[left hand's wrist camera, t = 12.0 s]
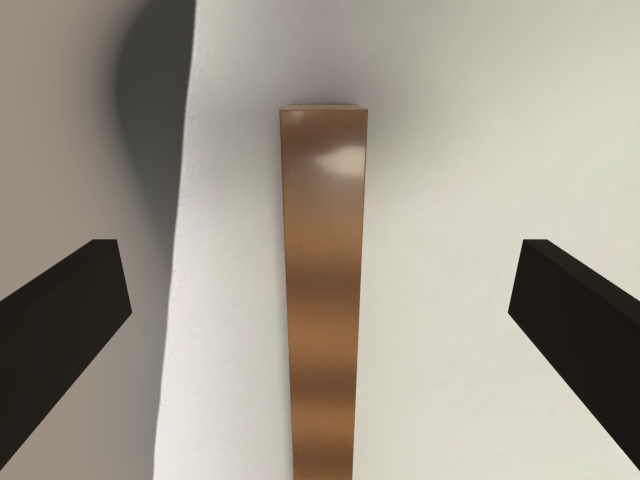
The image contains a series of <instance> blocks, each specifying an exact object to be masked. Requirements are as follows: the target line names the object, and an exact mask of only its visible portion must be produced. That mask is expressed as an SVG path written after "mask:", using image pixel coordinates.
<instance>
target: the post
mask: <svg viewBox="0 0 640 480" xmlns="http://www.w3.org/2000/svg"><path fill="white" fill-rule="evenodd" d="M367 118H368V110H367V109H365V108H363V107H360V106H358V105H356V104H290V105H288V106H286V107H284V108H282V109H281V110H280V134H281V160H282V186H283V212H284V238H285V264H286V290H287V316H288V342H289V368H290V394H291V420H292V446H293V471H294V480H352V471H353V447H354V424H355V400H356V377H357V353H358V330H359V306H360V283H361V259H362V236H363V212H364V188H365V165H366V141H367Z"/></svg>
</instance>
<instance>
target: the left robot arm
mask: <svg viewBox="0 0 640 480" xmlns="http://www.w3.org/2000/svg"><path fill="white" fill-rule="evenodd" d="M131 314H132V309H131V305H130V300H129V295H128V291H127V286H126V281H125V276H124V272H123V267H122V262H121V258H120V253H119V248H118V243H117V240H116V239H93V240H91V241H90V242H88V243H87V244H85V245H84V246H83V247H81V248H79V249H78V250H76V251H75V252H73V253H72V254H70V255H69V256H67V257H66V258H64V259H63V260H62V261H60V262H58V263H57V264H55V265H54V266H52V267H51V268H49V269H48V270H46V271H45V272H43V273H42V274H40V275H39V276H37V277H36V278H34V279H33V280H31V281H30V282H28V283H27V284H26V285H24V286H23V287H21V288H19V289H18V290H16V291H15V292H13V293H12V294H10V295H9V296H7V297H6V298H4V299H3V300H1V301H0V471H1V469H2V468H3V467H4V466H5V465H6V463H7V462H8V461H9V460H10V459H11V457H12V456H13V455H14V454H15V453H16V451H17V450H18V449H19V448H20V447H21V445H22V444H23V443H24V442H25V441H26V439H27V438H28V437H29V436H30V435H31V433H32V432H33V431H34V430H35V429H36V427H37V426H38V425H39V424H40V423H41V421H42V420H43V419H44V418H45V417H46V415H47V414H48V413H49V412H50V411H51V409H52V408H53V407H54V406H55V405H56V403H57V402H58V401H59V400H60V399H61V397H62V396H63V395H64V394H65V393H66V391H67V390H68V389H69V388H70V387H71V385H72V384H73V383H74V382H75V381H76V379H77V378H78V377H79V376H80V375H81V374H82V372H83V371H84V370H85V369H86V368H87V366H88V365H89V364H90V363H91V362H92V360H93V359H94V358H95V357H96V356H97V354H98V353H99V352H100V351H101V350H102V348H103V347H104V346H105V345H106V344H107V342H108V341H109V340H110V339H111V338H112V336H113V335H114V334H115V333H116V331H117V330H118V329H119V328H120V327H121V326H122V324H123V323H124V322H125V321H126V320H127V318H128V317H129V316H130V315H131ZM508 314H509V315H510V316H511V317H512V318H513V320H514V321H515V322H516V323H517V324H518V326H519V327H520V328H521V329H522V330H523V332H524V333H525V334H526V335H527V336H528V338H529V339H530V340H531V341H532V342H533V344H534V345H535V346H536V347H537V348H538V350H539V351H540V352H541V353H542V354H543V356H544V357H545V358H546V359H547V360H548V362H549V363H550V364H551V365H552V366H553V368H554V369H555V370H556V371H557V372H558V374H559V375H560V376H561V377H562V378H563V379H564V381H565V382H566V383H567V384H568V385H569V387H570V388H571V389H572V390H573V391H574V393H575V394H576V395H577V396H578V397H579V399H580V400H581V401H582V402H583V403H584V405H585V406H586V407H587V408H588V409H589V411H590V412H591V413H592V414H593V415H594V417H595V418H596V419H597V420H598V421H599V423H600V424H601V425H602V426H603V427H604V429H605V430H606V431H607V432H608V433H609V435H610V436H611V437H612V438H613V439H614V441H615V442H616V443H617V444H618V445H619V447H620V448H621V449H622V450H623V451H624V453H625V454H626V455H627V456H628V457H629V459H630V460H631V461H632V462H633V463H634V465H635V466H636V467H637V468H638V469H639V471H640V301H639V300H637V299H636V298H634V297H633V296H631V295H630V294H628V293H627V292H625V291H624V290H622V289H621V288H619V287H618V286H616V285H615V284H613V283H612V282H610V281H609V280H607V279H606V278H604V277H603V276H601V275H600V274H598V273H597V272H595V271H594V270H592V269H591V268H589V267H588V266H586V265H585V264H583V263H582V262H580V261H579V260H577V259H576V258H574V257H573V256H571V255H570V254H568V253H567V252H565V251H564V250H562V249H561V248H559V247H558V246H556V245H555V244H553V243H552V242H550V241H549V240H547V239H523V243H522V248H521V253H520V257H519V262H518V267H517V272H516V276H515V281H514V286H513V291H512V295H511V300H510V305H509V309H508Z"/></svg>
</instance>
